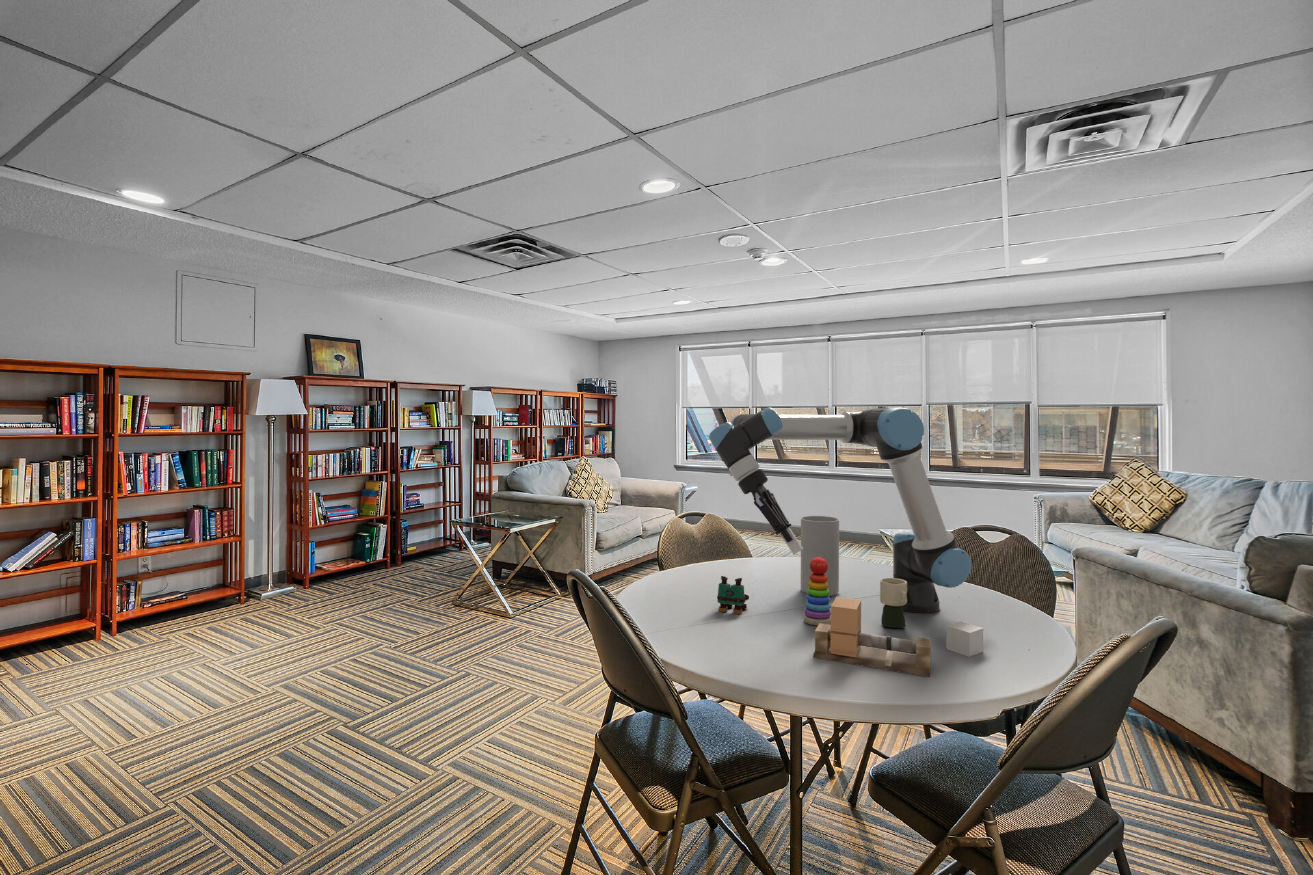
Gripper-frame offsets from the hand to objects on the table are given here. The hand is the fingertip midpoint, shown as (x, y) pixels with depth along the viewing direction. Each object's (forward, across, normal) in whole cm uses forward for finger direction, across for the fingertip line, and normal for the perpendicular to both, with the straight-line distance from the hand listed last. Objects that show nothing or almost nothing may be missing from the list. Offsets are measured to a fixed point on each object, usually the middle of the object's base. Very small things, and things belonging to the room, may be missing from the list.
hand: (798, 551), depth 154 cm
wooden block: (+26, +3, -3) cm, 26 cm away
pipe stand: (+30, +3, +1) cm, 30 cm away
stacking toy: (+21, -19, -12) cm, 31 cm away
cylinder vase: (+18, -51, -15) cm, 56 cm away
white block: (+42, -13, +19) cm, 48 cm away
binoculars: (+6, -21, -33) cm, 40 cm away
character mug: (+32, -24, +4) cm, 40 cm away
